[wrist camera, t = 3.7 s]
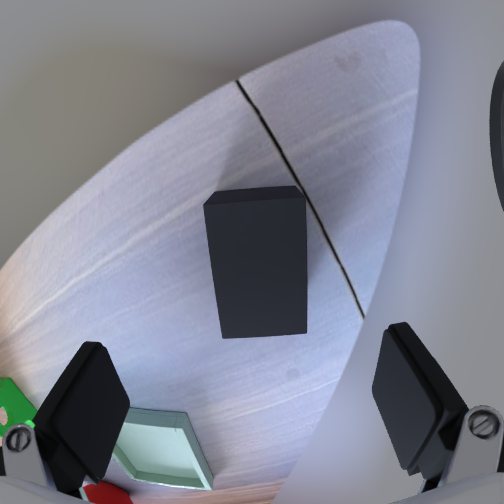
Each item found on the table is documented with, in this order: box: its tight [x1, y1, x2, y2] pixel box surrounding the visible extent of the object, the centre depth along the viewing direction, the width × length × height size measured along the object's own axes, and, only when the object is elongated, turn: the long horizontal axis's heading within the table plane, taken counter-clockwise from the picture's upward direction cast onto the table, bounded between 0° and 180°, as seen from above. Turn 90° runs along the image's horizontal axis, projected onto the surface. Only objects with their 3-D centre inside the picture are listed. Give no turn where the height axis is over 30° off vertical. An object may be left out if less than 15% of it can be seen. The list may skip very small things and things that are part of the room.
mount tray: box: [112, 408, 214, 490], centre depth 27 cm, size 12×16×2 cm
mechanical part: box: [0, 378, 38, 437], centre depth 25 cm, size 12×6×8 cm, turn 21°
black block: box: [203, 186, 307, 339], centre depth 18 cm, size 5×8×4 cm, turn 5°
